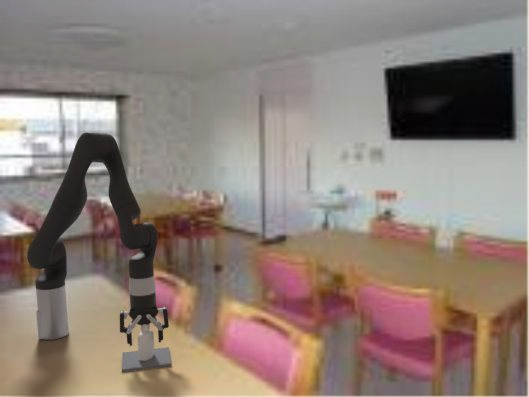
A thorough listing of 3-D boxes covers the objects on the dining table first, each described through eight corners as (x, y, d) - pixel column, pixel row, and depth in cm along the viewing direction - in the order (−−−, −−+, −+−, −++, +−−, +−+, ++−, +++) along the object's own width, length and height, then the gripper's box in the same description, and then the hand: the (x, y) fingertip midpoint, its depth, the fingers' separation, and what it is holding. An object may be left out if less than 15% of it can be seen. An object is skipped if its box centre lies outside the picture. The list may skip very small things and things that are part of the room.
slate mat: (121, 372, 153) (121, 369, 153) (122, 354, 165) (122, 352, 164) (171, 366, 156) (171, 363, 156) (168, 349, 168) (168, 347, 168)
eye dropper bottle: (134, 357, 160) (132, 319, 159) (151, 352, 164) (150, 315, 162) (141, 362, 157) (139, 323, 155) (158, 357, 160) (157, 319, 159)
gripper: (166, 284, 163) (168, 335, 165) (117, 289, 159) (121, 341, 162) (167, 292, 155) (170, 345, 158) (117, 296, 152) (120, 351, 154)
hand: (145, 343), depth 160 cm, fingers open, 8 cm apart
